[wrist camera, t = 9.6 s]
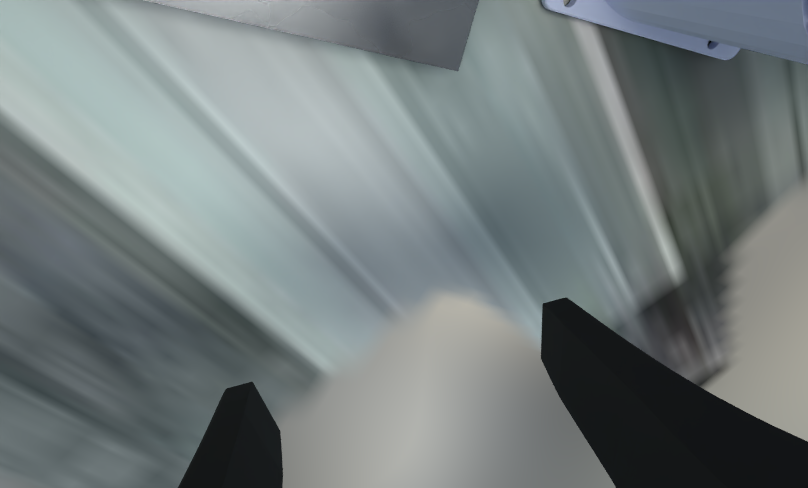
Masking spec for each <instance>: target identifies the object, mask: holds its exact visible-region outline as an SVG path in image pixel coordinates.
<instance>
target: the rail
mask: <svg viewBox="0 0 808 488" xmlns="http://www.w3.org/2000/svg"><path fill="white" fill-rule="evenodd" d="M144 1H149V2H153V3H158V4H162V5H166V6H171V7H175V8H180V9H184V10H189V11H193V12H197V13H202V14H206V15H211V16H215V17H220V18H224V19H228V20H233V21H237V22H242V23H246V24H251V25H255V26H260V27H264V28H268V29H273V30H277V31H282V32H286V33H291V34H295V35H299V36H304V37H308V38H313V39H317V40H322V41H326V42H331V43H335V44H339V45H344V46H348V47H353V48H357V49H362V50H366V51H370V52H375V53H379V54H384V55H388V56H393V57H397V58H401V59H406V60H410V61H415V62H419V63H424V64H428V65H433V66H437V67H441V68H446V69H450V70H455V71H458V70H459V67H460V63H461V60H462V56H463V53H464V50H465V46H466V43H467V39H468V36H469V32H470V29H471V26H472V22H473V19H474V15H475V12H476V8H477V5H478V2H479V0H144Z"/></svg>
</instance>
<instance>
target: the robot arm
mask: <svg viewBox="0 0 808 488" xmlns="http://www.w3.org/2000/svg"><path fill="white" fill-rule="evenodd" d="M542 4H543V6H544V7H545V8H546V9H548V10H551V11H555V12H558V13H562V14H565V15H569V16H572V17H575V18H579V19H582V20H586V21H589V22H593V23H596V24H600V25H603V26H607V27H610V28H614V29H617V30H621V31H624V32H628V33H631V34H635V35H638V36H641V37H645V38H648V39H652V40H655V41H659V42H662V43H666V44H669V45H673V46H676V47H680V48H683V49H687V50H690V51H694V52H697V53H701V54H704V55H708V56H711V57H714V58H718V59H721V60H729V59H731V58H733V57H734V56H735V55H736V54H737V53H738V52H739V50H740V48H742V49H747V50H751V51H755V52H759V53H763V54H767V55H771V56H775V57H779V58H783V59H787V60H791V61H795V62H799V63H803V64H807V65H808V0H571V1H570V2H569V4H567V5H566V6H564V3H563V0H542ZM709 40H710V41H711V43H710V44H709V46H707V44H708V41H709ZM541 359H542V362H543V363H544V366H545V368H546V370H547V372H548V374H549V376H550V379H551V381H552V383H553V385H554V386H555V389H556V391H557V392H558V395H559V397H560V398H561V400H562V402H563V403H564V405H565V406H566V408H567V410H568V411H569V413H570V414H571V416H572V418H573V419H574V421H575V422H576V424H577V426H578V427H579V429H580V430H581V432H582V433H583V435H584V437H585V438H586V440H587V441H588V443H589V445H590V446H591V448H592V449H593V451H594V452H595V454H596V456H597V457H598V459H599V460H600V462H601V464H602V465H603V467H604V468H605V470H606V471H607V473H608V475H609V476H610V478H611V479H612V481H613V483H614V485H615V486H616V488H808V442H807V441H805V440H803V439H801V438H798V437H796V436H794V435H792V434H790V433H788V432H785V431H783V430H781V429H779V428H776V427H774V426H772V425H770V424H768V423H766V422H764V421H762V420H760V419H758V418H756V417H754V416H752V415H750V414H748V413H746V412H744V411H743V410H741V409H739V408H737V407H735V406H733V405H731V404H729V403H728V402H726V401H724V400H722V399H720V398H718V397H716V396H715V395H713V394H711V393H709V392H708V391H706V390H704V389H702V388H701V387H699V386H697V385H696V384H694V383H692V382H690V381H689V380H687V379H686V378H684V377H682V376H681V375H679V374H677V373H676V372H674V371H672V370H671V369H669V368H668V367H666V366H664V365H663V364H661V363H660V362H658V361H657V360H655V359H654V358H652V357H651V356H649V355H648V354H646V353H645V352H643V351H642V350H640V349H639V348H637V347H636V346H634V345H633V344H631V343H630V342H628V341H627V340H625V339H624V338H622V337H621V336H619V335H618V334H617V333H615V332H614V331H612V330H611V329H610V328H608V327H607V326H605V325H604V324H603V323H601V322H600V321H598V320H597V319H596V318H594V317H593V316H591V315H590V314H589V313H587V312H586V311H585V310H583V309H582V308H580V307H579V306H578V305H576V304H575V303H574V302H572V301H571V300H569V299H568V298H562V299H558V300H554V301H551V302H547V303H543V311H542V343H541ZM282 482H283V468H282V451H281V437H280V430H279V428H278V426H277V424H276V423H275V421H274V419H273V417H272V416H271V414H270V412H269V410H268V408H267V407H266V405H265V403H264V401H263V400H262V398H261V396H260V394H259V392H258V391H257V389H256V387H255V385H254V383H253V382H249V383H246V384H242V385H238V386H234V387H231V388H227V389H226V390H225V392H224V393H223V396H222V398H221V400H220V402H219V404H218V406H217V409H216V411H215V413H214V415H213V417H212V420H211V422H210V424H209V426H208V428H207V430H206V432H205V434H204V437H203V439H202V441H201V443H200V445H199V447H198V449H197V451H196V453H195V455H194V457H193V459H192V461H191V463H190V465H189V467H188V469H187V471H186V473H185V475H184V477H183V479H182V481H181V483H180V485H179V487H178V488H282Z"/></svg>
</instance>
